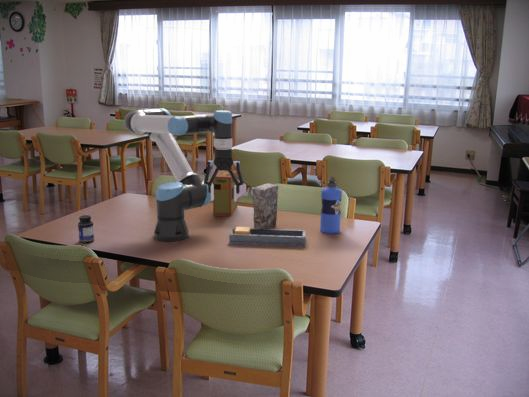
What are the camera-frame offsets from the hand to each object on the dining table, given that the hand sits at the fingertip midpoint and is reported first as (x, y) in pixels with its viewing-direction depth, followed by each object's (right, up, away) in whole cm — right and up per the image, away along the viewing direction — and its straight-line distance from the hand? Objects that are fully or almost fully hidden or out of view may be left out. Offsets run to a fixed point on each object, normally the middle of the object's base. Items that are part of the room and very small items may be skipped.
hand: (224, 200), depth 228 cm
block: (+8, -16, +3) cm, 18 cm away
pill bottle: (-59, -18, +1) cm, 61 cm away
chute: (+19, -18, +3) cm, 26 cm away
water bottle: (+47, -14, +18) cm, 52 cm away
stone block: (+18, -13, +22) cm, 31 cm away
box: (-3, -6, +48) cm, 49 cm away
